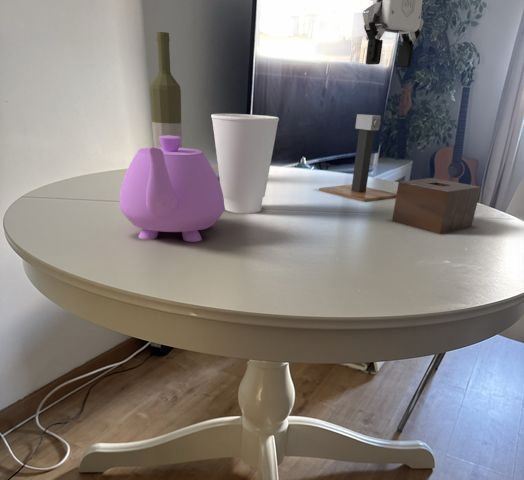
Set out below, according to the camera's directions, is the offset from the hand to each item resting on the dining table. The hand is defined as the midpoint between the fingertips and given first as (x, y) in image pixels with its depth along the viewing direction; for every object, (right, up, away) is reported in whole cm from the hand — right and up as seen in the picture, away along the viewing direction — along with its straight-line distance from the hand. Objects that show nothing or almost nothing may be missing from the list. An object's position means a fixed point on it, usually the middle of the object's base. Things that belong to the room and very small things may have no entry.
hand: (388, 65), depth 97 cm
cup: (-29, -31, -6) cm, 43 cm away
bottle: (-49, -16, +20) cm, 55 cm away
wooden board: (-3, -22, +14) cm, 26 cm away
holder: (+5, -35, -10) cm, 37 cm away
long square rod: (-3, -21, +13) cm, 25 cm away
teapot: (-39, -40, -23) cm, 61 cm away
